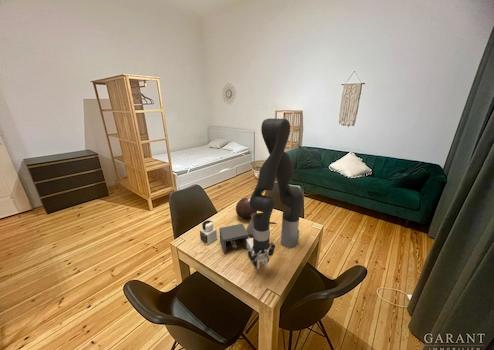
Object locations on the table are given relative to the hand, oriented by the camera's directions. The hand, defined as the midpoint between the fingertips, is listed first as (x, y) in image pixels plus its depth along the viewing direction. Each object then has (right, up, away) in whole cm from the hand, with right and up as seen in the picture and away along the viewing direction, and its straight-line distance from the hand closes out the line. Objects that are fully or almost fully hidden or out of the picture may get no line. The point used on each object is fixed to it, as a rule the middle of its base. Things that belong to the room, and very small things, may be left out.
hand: (260, 263), depth 98 cm
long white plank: (-2, +2, +6) cm, 6 cm away
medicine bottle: (-30, +4, +24) cm, 38 cm away
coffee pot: (+2, +5, +26) cm, 27 cm away
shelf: (-14, +2, +19) cm, 24 cm away
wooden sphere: (-7, +12, +46) cm, 48 cm away
